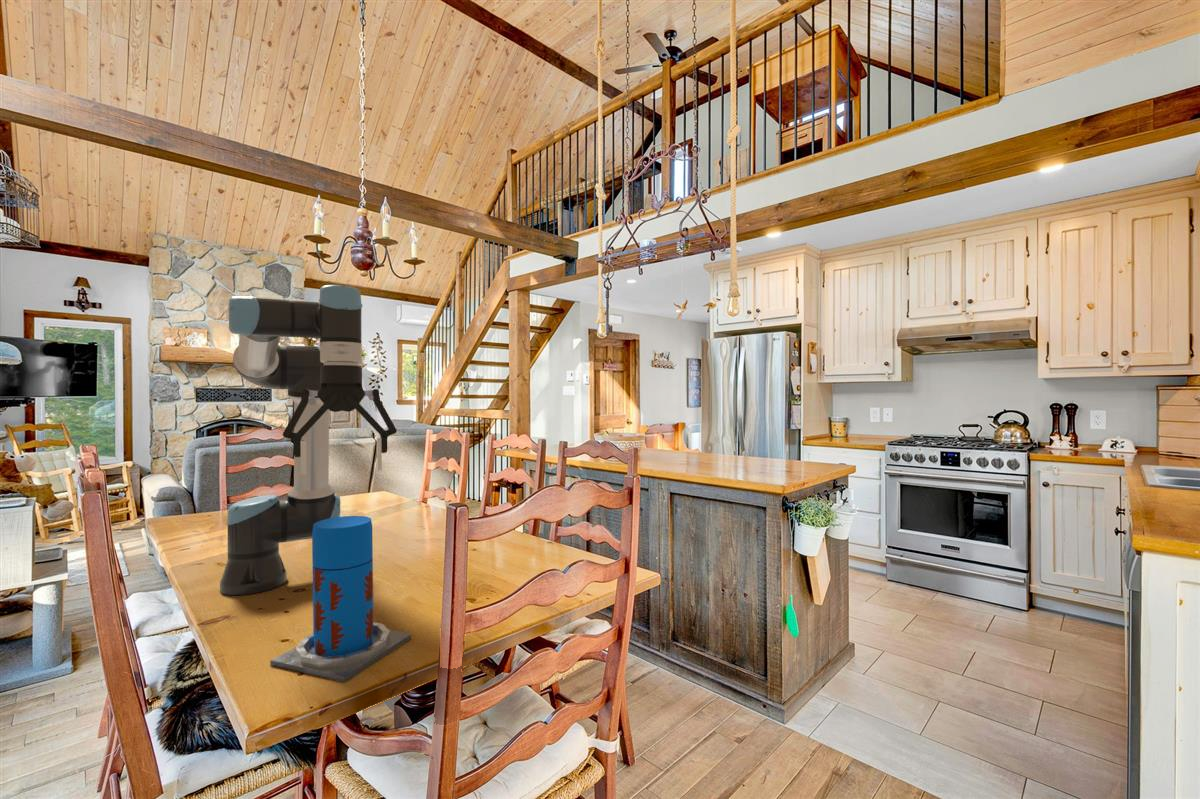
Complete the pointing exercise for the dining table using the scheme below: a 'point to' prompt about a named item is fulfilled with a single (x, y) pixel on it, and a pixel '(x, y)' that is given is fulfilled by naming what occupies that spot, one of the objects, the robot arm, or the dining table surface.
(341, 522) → the thermos
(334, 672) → the collar dock
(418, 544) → the dining table surface
